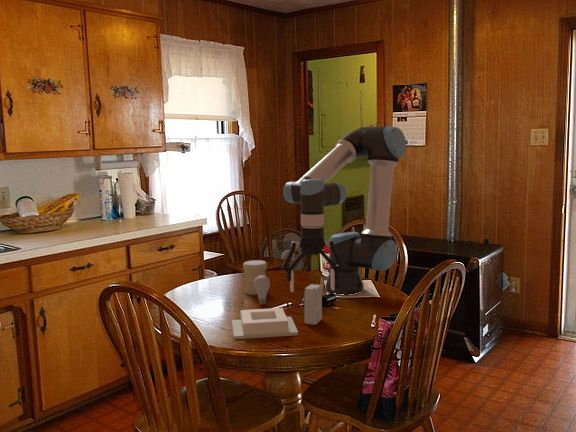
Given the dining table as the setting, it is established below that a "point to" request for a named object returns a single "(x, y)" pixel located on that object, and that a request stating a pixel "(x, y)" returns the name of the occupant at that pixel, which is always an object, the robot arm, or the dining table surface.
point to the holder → (263, 324)
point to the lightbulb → (261, 288)
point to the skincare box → (313, 304)
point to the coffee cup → (253, 274)
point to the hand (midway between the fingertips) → (312, 290)
